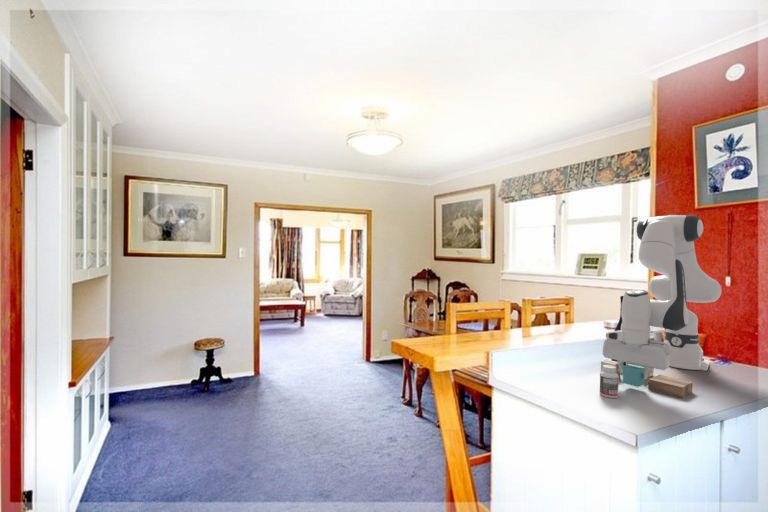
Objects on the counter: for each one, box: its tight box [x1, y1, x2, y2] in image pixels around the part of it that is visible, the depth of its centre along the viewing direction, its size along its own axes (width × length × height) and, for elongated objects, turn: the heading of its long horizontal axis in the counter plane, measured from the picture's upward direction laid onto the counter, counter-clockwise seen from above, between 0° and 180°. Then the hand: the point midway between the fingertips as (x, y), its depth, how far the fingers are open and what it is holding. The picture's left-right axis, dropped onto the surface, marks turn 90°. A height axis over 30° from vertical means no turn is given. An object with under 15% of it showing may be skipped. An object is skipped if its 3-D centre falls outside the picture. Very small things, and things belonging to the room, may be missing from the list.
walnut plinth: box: [647, 374, 693, 399], centre depth 140 cm, size 10×10×4 cm
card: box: [643, 378, 650, 386], centre depth 151 cm, size 8×5×1 cm, turn 127°
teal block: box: [622, 364, 645, 388], centre depth 141 cm, size 5×5×6 cm
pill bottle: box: [599, 365, 620, 399], centre depth 134 cm, size 5×5×10 cm
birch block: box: [600, 359, 621, 379], centre depth 154 cm, size 5×5×6 cm
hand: (633, 376), depth 141 cm, fingers closed on teal block, 5 cm apart
